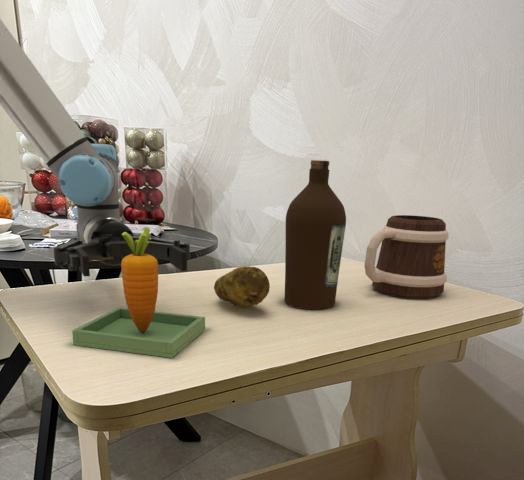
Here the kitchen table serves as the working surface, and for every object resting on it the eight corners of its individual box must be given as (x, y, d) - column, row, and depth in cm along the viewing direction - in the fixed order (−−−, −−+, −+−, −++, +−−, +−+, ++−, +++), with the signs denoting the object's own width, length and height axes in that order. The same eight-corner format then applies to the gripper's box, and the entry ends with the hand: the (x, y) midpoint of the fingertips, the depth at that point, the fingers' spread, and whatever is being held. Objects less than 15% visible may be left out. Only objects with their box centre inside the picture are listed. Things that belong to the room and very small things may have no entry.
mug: (405, 280, 119) (414, 212, 114) (459, 295, 107) (473, 221, 102) (337, 288, 109) (344, 214, 104) (389, 306, 97) (400, 224, 92)
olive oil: (272, 305, 94) (280, 158, 85) (292, 293, 103) (300, 159, 95) (329, 314, 90) (343, 161, 82) (344, 300, 100) (357, 162, 91)
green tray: (73, 344, 71) (71, 330, 71) (118, 319, 83) (117, 306, 82) (172, 358, 68) (171, 343, 67) (205, 329, 80) (205, 316, 79)
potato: (255, 298, 99) (257, 256, 96) (273, 318, 87) (275, 270, 84) (212, 299, 97) (212, 256, 94) (224, 319, 85) (224, 271, 82)
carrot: (125, 339, 72) (118, 230, 67) (125, 328, 77) (119, 225, 72) (161, 337, 74) (157, 230, 68) (159, 327, 78) (156, 225, 73)
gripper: (179, 258, 97) (220, 284, 79) (33, 265, 86) (43, 296, 68) (178, 217, 94) (221, 234, 76) (28, 219, 84) (37, 239, 66)
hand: (137, 264), depth 72 cm, fingers open, 13 cm apart
